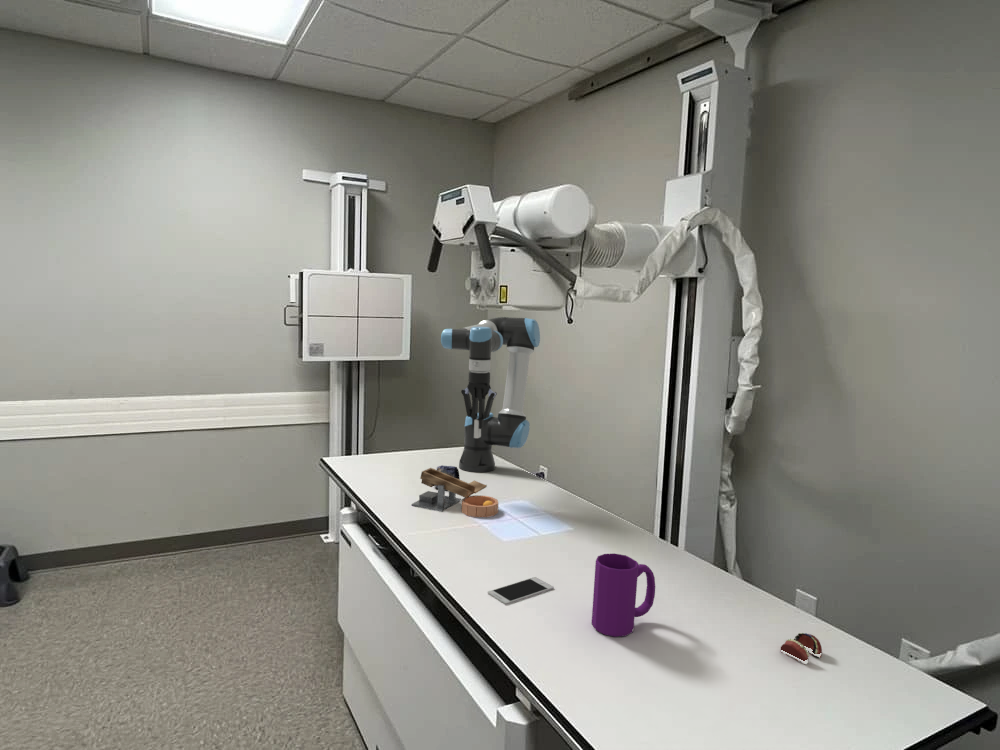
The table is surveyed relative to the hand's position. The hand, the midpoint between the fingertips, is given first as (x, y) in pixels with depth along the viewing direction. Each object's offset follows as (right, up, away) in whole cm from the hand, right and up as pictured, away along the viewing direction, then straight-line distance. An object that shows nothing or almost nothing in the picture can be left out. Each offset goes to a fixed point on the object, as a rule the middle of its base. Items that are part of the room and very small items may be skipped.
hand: (477, 437), depth 223 cm
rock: (-12, -20, +13) cm, 27 cm away
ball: (+4, -21, -15) cm, 26 cm away
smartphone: (+13, -31, -70) cm, 78 cm away
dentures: (+70, -36, -93) cm, 122 cm away
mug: (+35, -33, -84) cm, 97 cm away
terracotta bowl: (+1, -23, -13) cm, 27 cm away
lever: (-8, -17, -5) cm, 19 cm away
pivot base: (-14, -22, -7) cm, 27 cm away
